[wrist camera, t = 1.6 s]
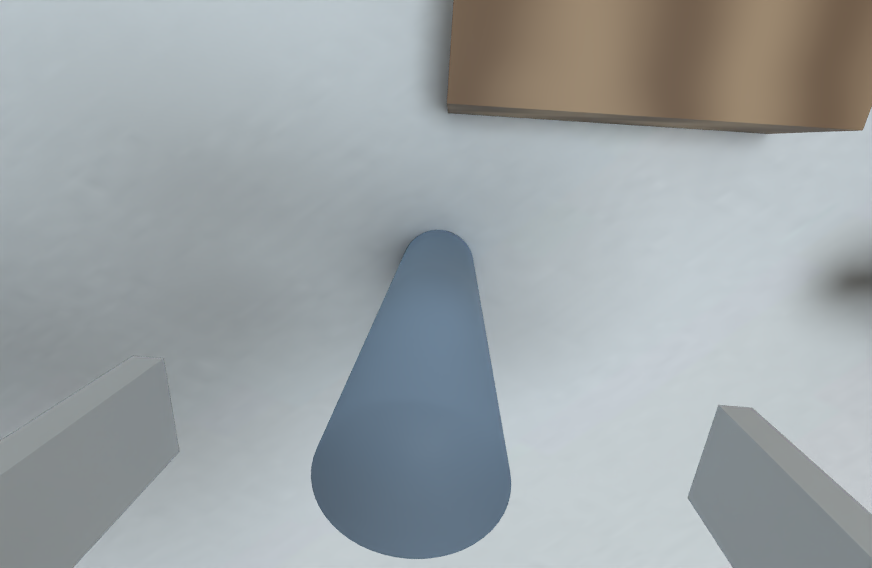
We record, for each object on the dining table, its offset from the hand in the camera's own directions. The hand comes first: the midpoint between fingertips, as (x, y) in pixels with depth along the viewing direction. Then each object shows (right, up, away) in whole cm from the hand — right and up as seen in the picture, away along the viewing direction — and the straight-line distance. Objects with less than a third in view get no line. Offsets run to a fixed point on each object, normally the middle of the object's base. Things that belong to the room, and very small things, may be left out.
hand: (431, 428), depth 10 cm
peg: (0, +5, +13) cm, 14 cm away
